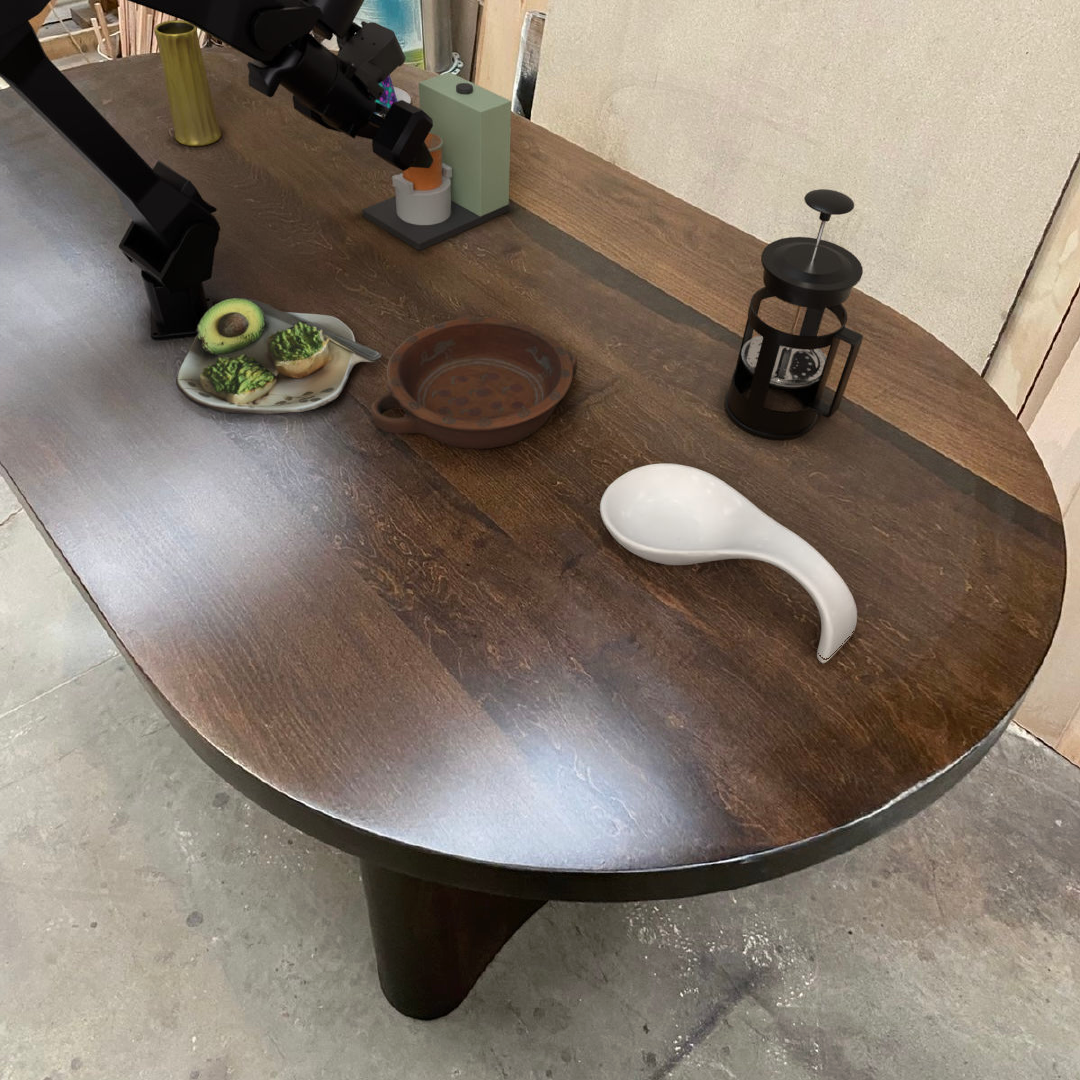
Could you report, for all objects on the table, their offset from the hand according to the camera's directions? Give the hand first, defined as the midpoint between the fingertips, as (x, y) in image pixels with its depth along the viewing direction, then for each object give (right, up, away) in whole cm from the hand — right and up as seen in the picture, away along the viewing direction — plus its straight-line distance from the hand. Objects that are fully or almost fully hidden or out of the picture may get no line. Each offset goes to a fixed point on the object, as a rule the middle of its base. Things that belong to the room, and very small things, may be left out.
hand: (405, 150), depth 113 cm
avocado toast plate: (-12, -28, -14) cm, 34 cm away
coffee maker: (+3, -4, +9) cm, 11 cm away
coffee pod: (+1, -2, +5) cm, 5 cm away
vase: (-32, +10, +21) cm, 39 cm away
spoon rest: (+31, -49, -30) cm, 65 cm away
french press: (+40, -33, -15) cm, 54 cm away
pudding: (-9, +19, +31) cm, 38 cm away
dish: (+10, -33, -17) cm, 38 cm away
